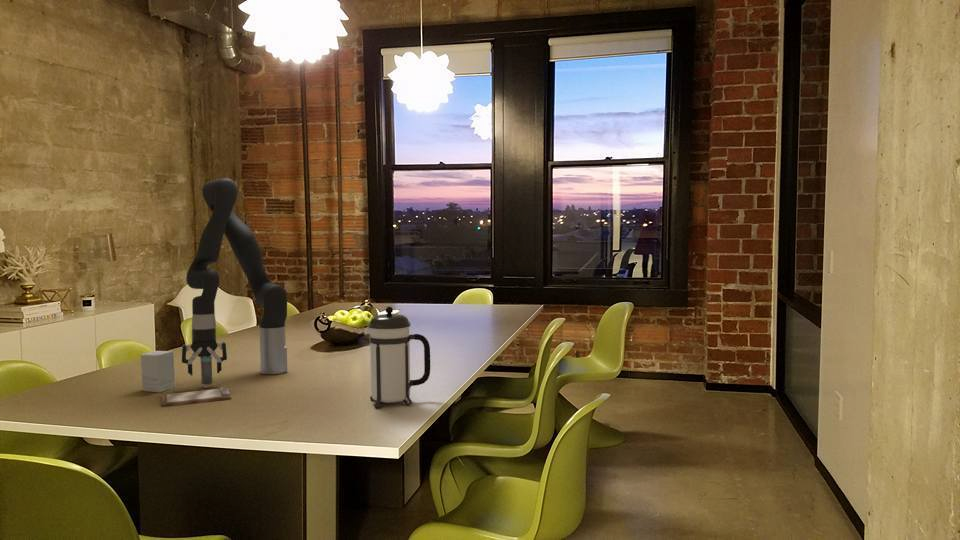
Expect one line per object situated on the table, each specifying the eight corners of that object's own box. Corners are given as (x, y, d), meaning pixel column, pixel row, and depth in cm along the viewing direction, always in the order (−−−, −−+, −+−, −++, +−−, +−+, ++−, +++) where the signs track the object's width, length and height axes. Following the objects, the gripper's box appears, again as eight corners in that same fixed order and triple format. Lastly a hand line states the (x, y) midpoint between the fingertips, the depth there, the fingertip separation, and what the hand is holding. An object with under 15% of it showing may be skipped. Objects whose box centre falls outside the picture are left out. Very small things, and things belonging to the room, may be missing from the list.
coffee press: (397, 412, 199) (395, 311, 197) (356, 405, 207) (354, 307, 205) (432, 399, 214) (430, 304, 212) (392, 392, 222) (390, 301, 220)
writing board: (227, 390, 228) (227, 385, 227) (231, 399, 216) (231, 394, 216) (162, 397, 219) (161, 392, 219) (161, 406, 207) (161, 402, 207)
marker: (212, 385, 235) (211, 355, 234) (213, 387, 231) (212, 357, 231) (201, 386, 233) (200, 356, 232) (201, 388, 230) (200, 358, 229)
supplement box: (175, 387, 232) (174, 351, 231) (159, 392, 225) (157, 355, 224) (158, 386, 234) (157, 350, 233) (141, 391, 227) (140, 354, 226)
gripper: (225, 324, 237) (226, 370, 238) (181, 326, 231) (182, 373, 232) (226, 327, 230) (227, 374, 231) (181, 329, 225) (182, 377, 226)
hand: (204, 373), depth 232 cm, fingers open, 8 cm apart
